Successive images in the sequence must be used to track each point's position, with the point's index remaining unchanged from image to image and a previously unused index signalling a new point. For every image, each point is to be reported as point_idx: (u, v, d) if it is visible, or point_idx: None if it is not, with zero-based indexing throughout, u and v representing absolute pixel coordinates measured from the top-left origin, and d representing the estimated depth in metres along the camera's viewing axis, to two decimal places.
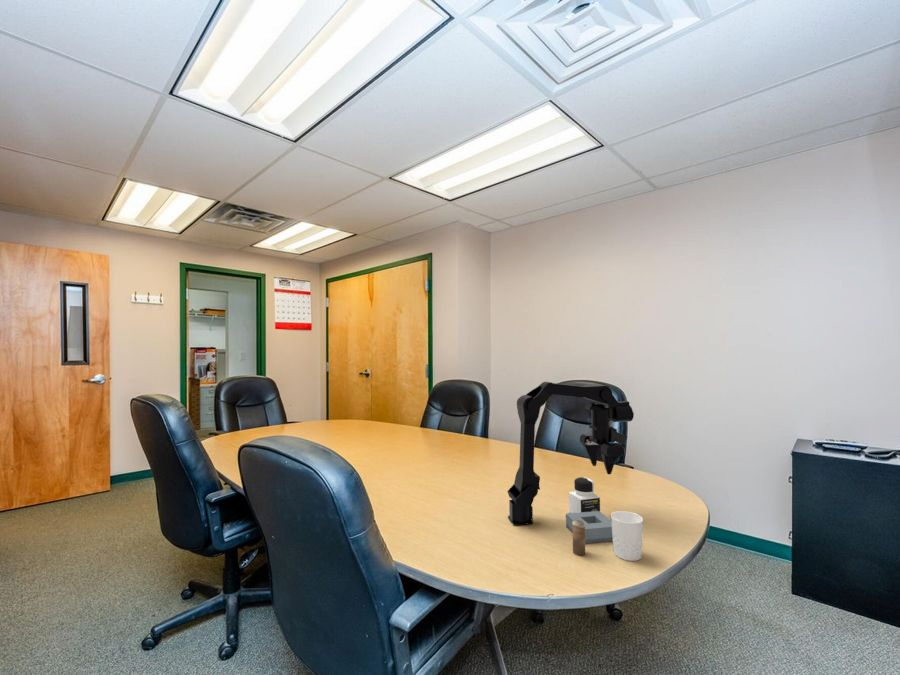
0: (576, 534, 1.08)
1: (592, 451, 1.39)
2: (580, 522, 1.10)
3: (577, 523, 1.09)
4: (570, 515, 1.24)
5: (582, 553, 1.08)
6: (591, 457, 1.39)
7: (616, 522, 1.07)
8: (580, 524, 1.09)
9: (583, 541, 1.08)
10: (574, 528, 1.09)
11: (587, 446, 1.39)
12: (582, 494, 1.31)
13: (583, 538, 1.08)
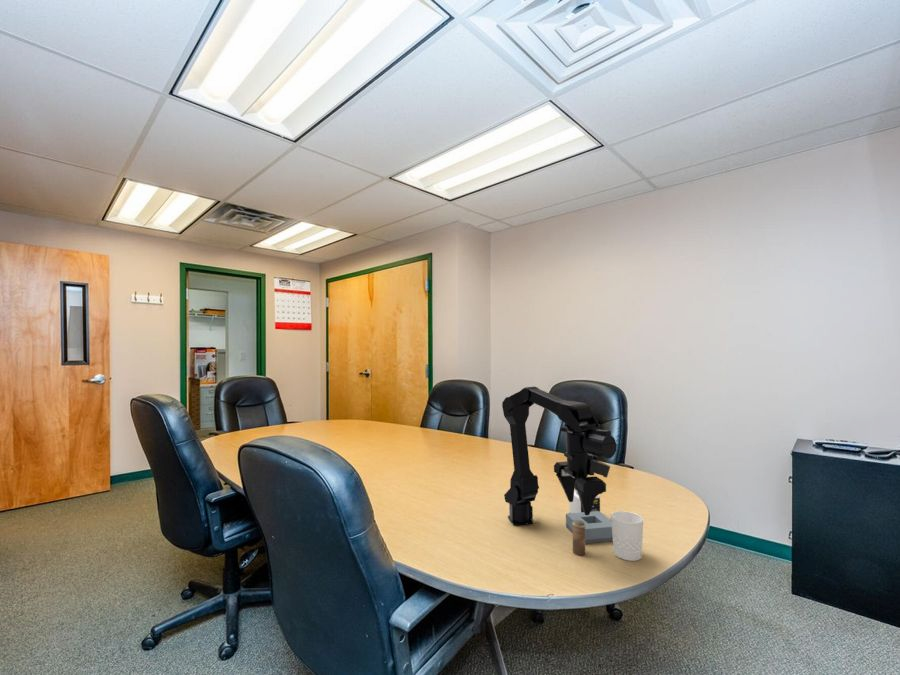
0: (576, 534, 1.08)
1: (568, 484, 1.15)
2: (580, 522, 1.10)
3: (577, 523, 1.09)
4: (570, 515, 1.24)
5: (582, 553, 1.08)
6: (567, 491, 1.14)
7: (616, 522, 1.07)
8: (580, 524, 1.09)
9: (583, 541, 1.08)
10: (574, 528, 1.09)
11: (562, 478, 1.15)
12: None
13: (583, 538, 1.08)
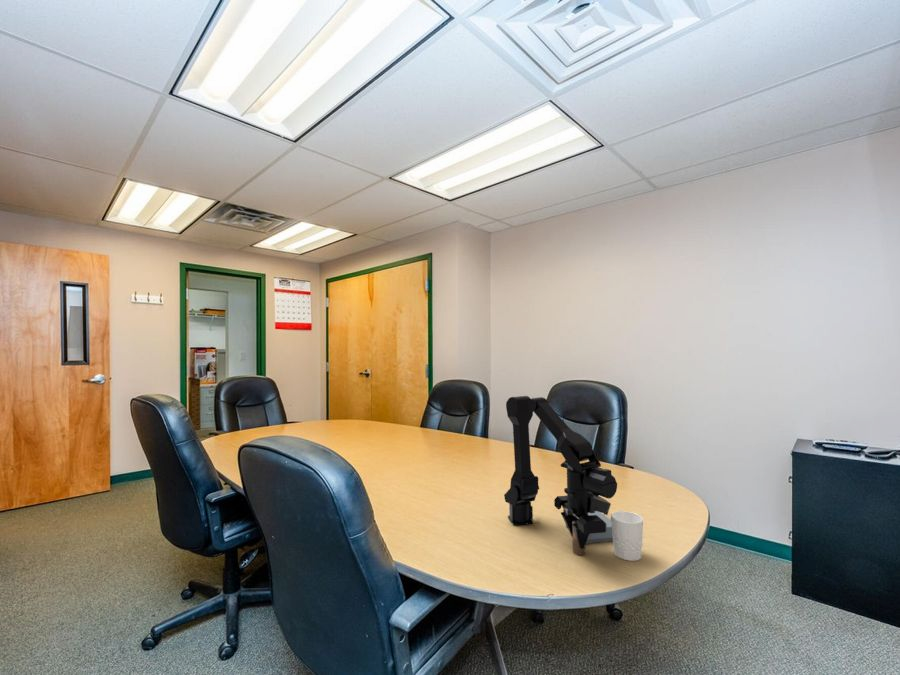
0: None
1: None
2: None
3: None
4: None
5: (582, 553, 1.08)
6: (572, 531, 1.11)
7: (616, 522, 1.07)
8: None
9: None
10: None
11: (567, 517, 1.12)
12: None
13: None
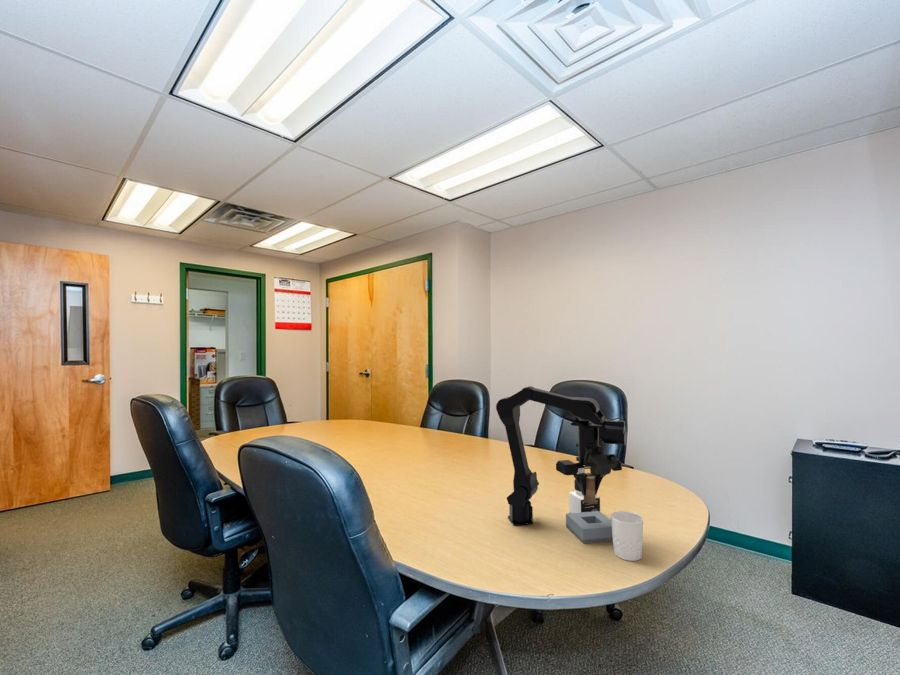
0: None
1: None
2: (590, 475, 1.19)
3: (587, 474, 1.20)
4: (570, 515, 1.24)
5: (585, 500, 1.19)
6: None
7: (616, 522, 1.07)
8: None
9: None
10: None
11: (591, 469, 1.22)
12: None
13: (586, 487, 1.18)
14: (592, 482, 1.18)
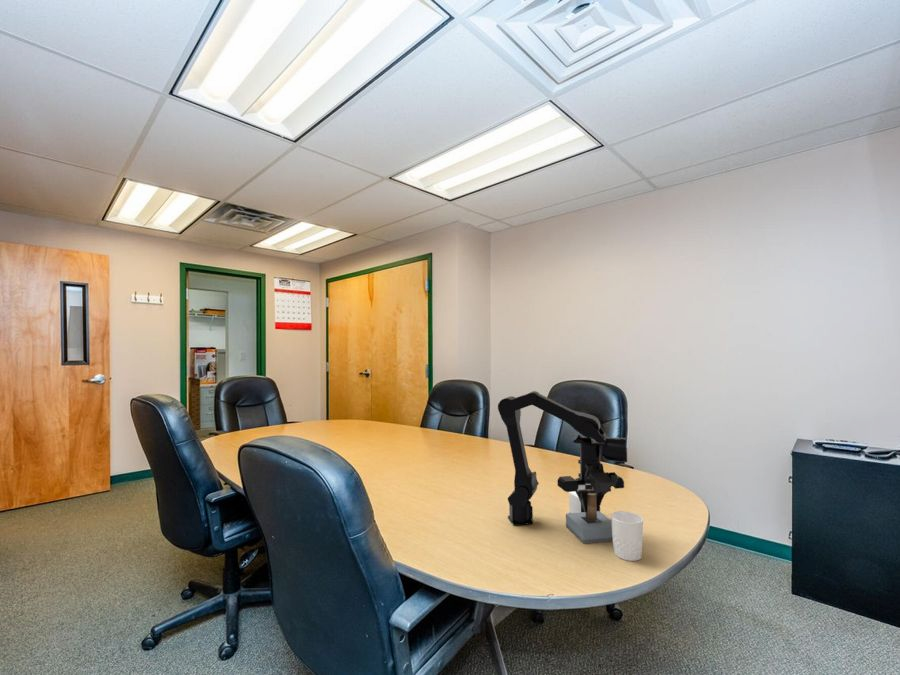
0: None
1: None
2: (592, 491, 1.20)
3: (588, 490, 1.21)
4: (570, 515, 1.24)
5: (586, 516, 1.20)
6: None
7: (616, 522, 1.07)
8: None
9: (587, 506, 1.20)
10: None
11: None
12: None
13: (587, 504, 1.20)
14: (593, 499, 1.19)
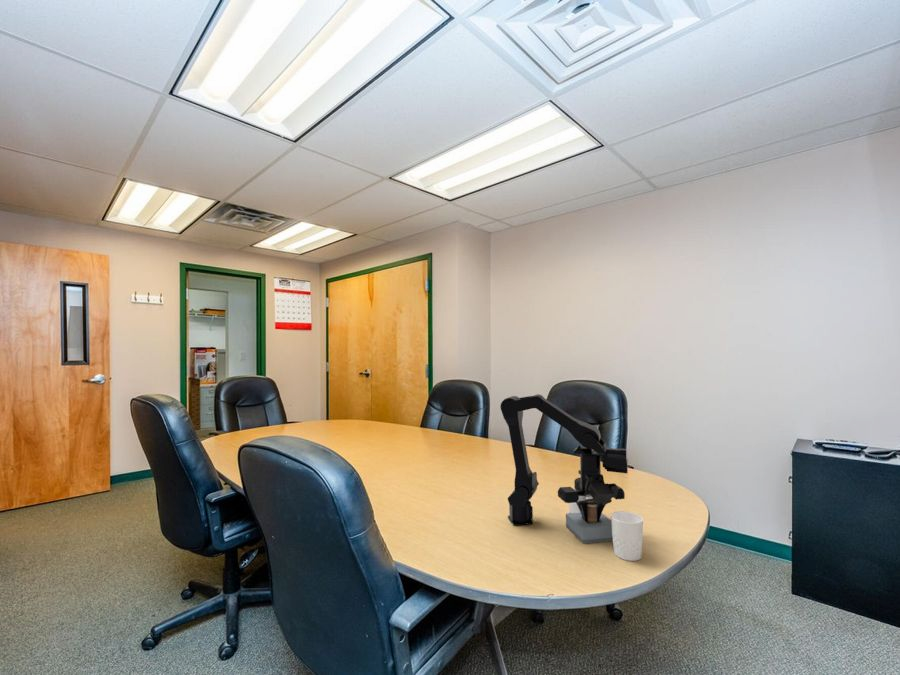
0: None
1: None
2: (592, 503, 1.20)
3: (589, 502, 1.21)
4: (570, 515, 1.24)
5: None
6: None
7: (616, 522, 1.07)
8: None
9: (587, 518, 1.20)
10: None
11: None
12: None
13: (587, 516, 1.20)
14: (594, 511, 1.19)
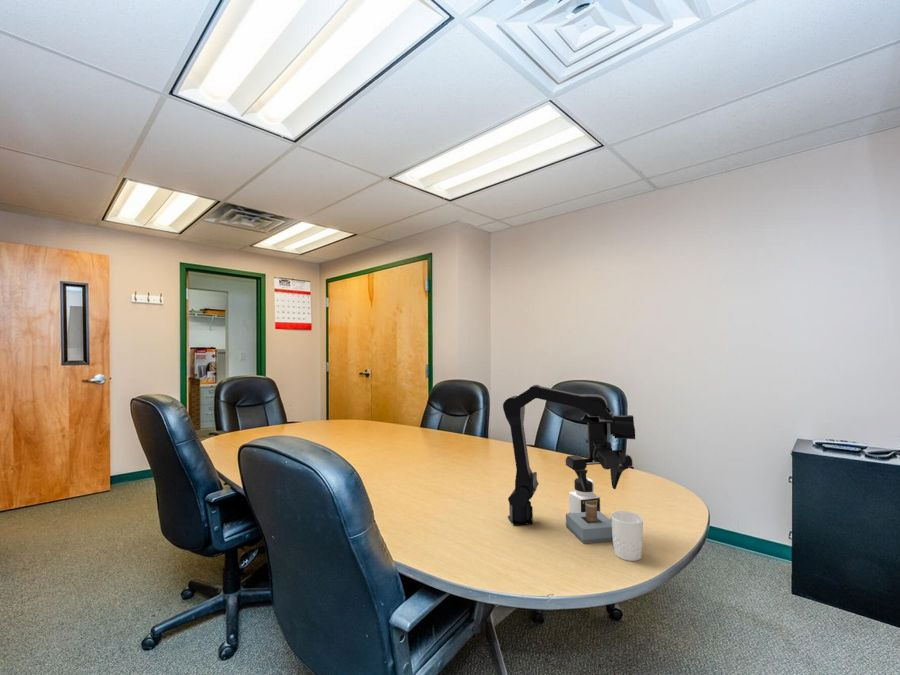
0: None
1: (613, 471, 1.22)
2: (592, 503, 1.20)
3: (589, 502, 1.21)
4: (570, 515, 1.24)
5: None
6: (611, 477, 1.23)
7: (616, 522, 1.07)
8: (587, 503, 1.21)
9: (587, 518, 1.20)
10: None
11: None
12: (582, 494, 1.31)
13: (587, 516, 1.20)
14: (594, 511, 1.19)
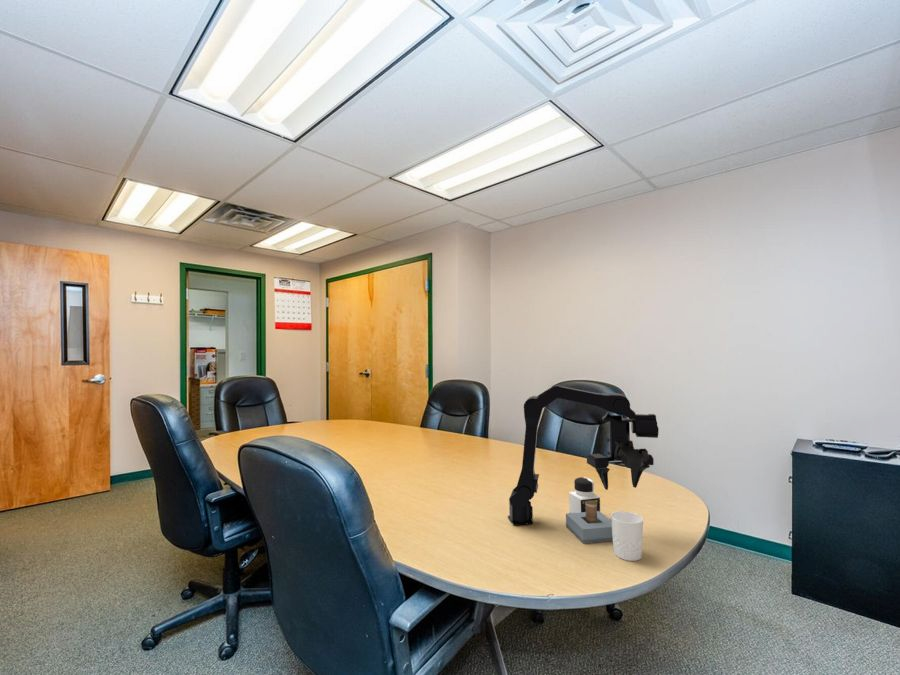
0: None
1: (634, 470, 1.23)
2: (592, 503, 1.20)
3: (589, 502, 1.21)
4: (570, 515, 1.24)
5: None
6: (632, 476, 1.23)
7: (616, 522, 1.07)
8: (587, 503, 1.21)
9: (587, 518, 1.20)
10: None
11: None
12: (582, 494, 1.31)
13: (587, 516, 1.20)
14: (594, 511, 1.19)
